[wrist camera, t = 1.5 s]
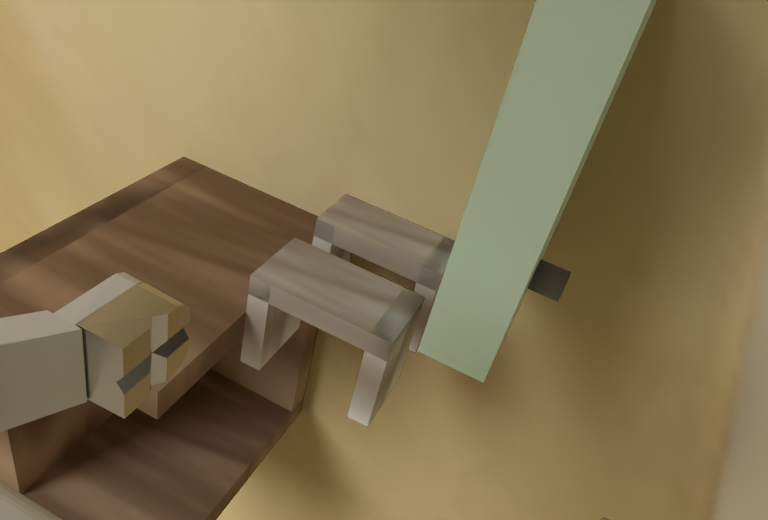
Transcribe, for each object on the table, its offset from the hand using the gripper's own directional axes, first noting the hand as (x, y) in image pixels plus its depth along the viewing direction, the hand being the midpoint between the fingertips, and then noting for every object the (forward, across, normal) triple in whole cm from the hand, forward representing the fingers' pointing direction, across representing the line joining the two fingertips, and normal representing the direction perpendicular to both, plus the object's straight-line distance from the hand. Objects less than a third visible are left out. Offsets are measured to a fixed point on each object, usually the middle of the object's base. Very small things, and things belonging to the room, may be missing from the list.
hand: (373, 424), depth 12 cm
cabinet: (+19, +11, +16) cm, 27 cm away
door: (+19, 0, 0) cm, 19 cm away
